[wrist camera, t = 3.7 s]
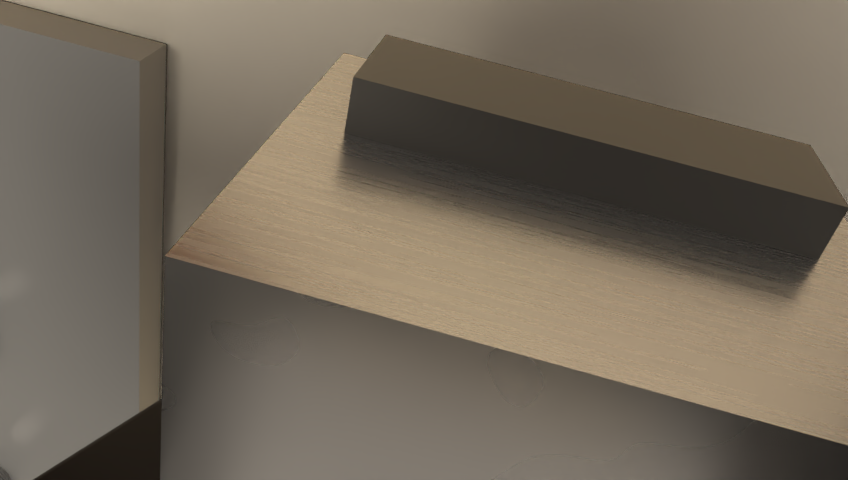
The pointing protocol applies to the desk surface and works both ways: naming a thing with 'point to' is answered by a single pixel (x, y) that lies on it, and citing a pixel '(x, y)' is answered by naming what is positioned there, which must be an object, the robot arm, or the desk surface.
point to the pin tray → (77, 233)
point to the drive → (507, 291)
